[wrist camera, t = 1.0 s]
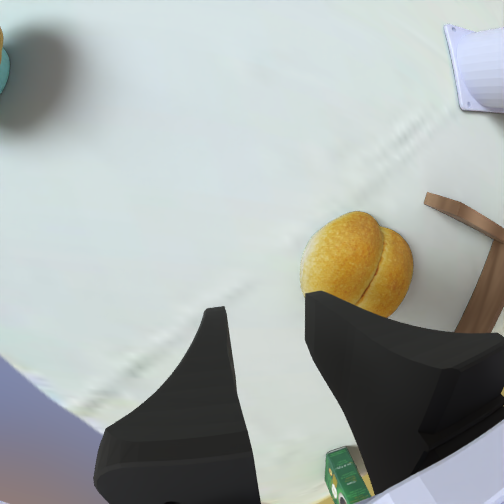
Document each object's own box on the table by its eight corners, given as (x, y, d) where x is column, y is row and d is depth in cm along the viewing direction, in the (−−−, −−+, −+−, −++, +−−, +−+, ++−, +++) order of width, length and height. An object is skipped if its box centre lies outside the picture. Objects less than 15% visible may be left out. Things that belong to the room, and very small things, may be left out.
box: (361, 353, 26) (382, 380, 23) (427, 192, 22) (461, 202, 19) (446, 356, 30) (466, 375, 26) (500, 233, 26) (527, 244, 22)
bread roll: (328, 192, 21) (356, 202, 17) (411, 243, 24) (441, 260, 20) (272, 294, 23) (288, 323, 19) (361, 328, 26) (384, 354, 22)
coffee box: (342, 473, 34) (377, 545, 22) (323, 480, 34) (355, 554, 22) (347, 444, 31) (391, 528, 19) (324, 452, 31) (364, 539, 19)
